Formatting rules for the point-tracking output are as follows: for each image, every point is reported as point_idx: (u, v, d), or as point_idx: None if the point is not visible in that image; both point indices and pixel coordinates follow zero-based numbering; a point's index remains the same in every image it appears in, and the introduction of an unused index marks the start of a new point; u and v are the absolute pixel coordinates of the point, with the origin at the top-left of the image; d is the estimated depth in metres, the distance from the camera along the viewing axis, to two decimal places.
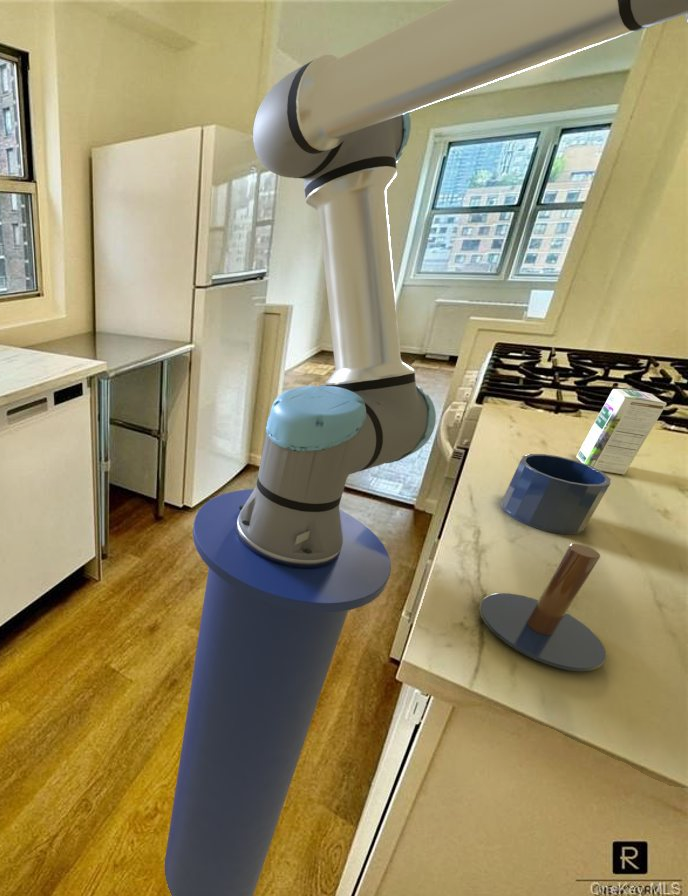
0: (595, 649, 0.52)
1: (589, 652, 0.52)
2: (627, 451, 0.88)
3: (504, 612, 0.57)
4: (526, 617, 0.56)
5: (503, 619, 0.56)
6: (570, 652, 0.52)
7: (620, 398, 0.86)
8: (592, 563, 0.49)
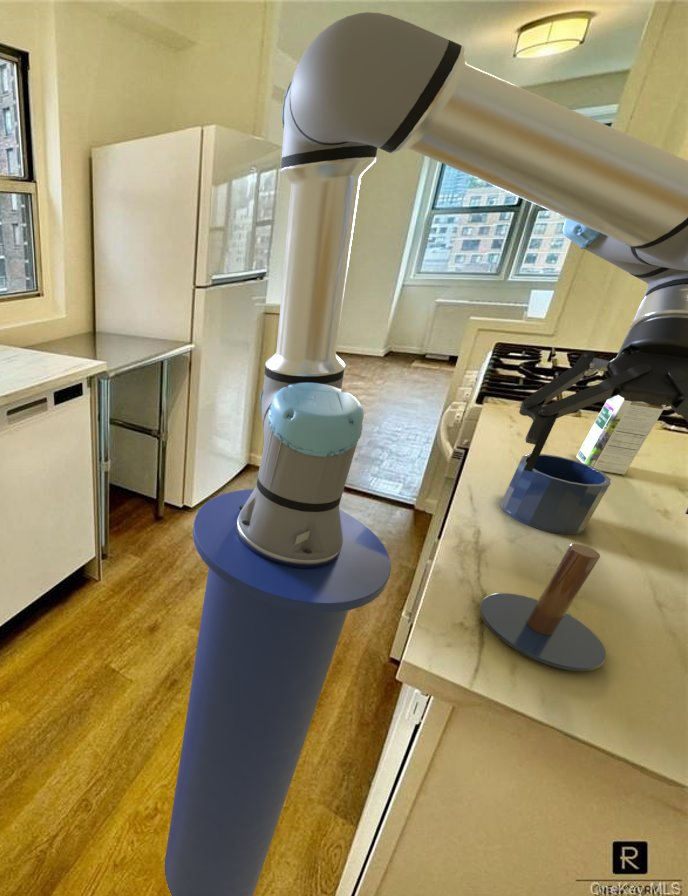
0: (595, 649, 0.52)
1: (589, 652, 0.52)
2: (627, 451, 0.88)
3: (504, 612, 0.57)
4: (526, 617, 0.56)
5: (503, 619, 0.56)
6: (570, 652, 0.52)
7: (620, 398, 0.86)
8: (592, 563, 0.49)
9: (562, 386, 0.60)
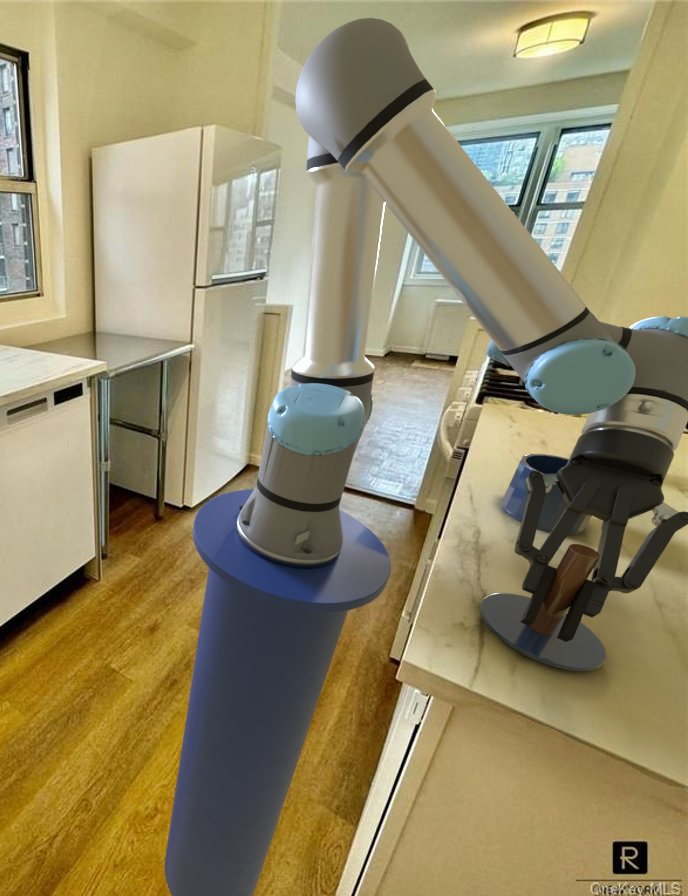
0: (595, 649, 0.52)
1: (589, 652, 0.52)
2: None
3: (504, 612, 0.57)
4: None
5: (503, 619, 0.56)
6: (570, 652, 0.52)
7: None
8: (592, 563, 0.49)
9: (539, 515, 0.55)
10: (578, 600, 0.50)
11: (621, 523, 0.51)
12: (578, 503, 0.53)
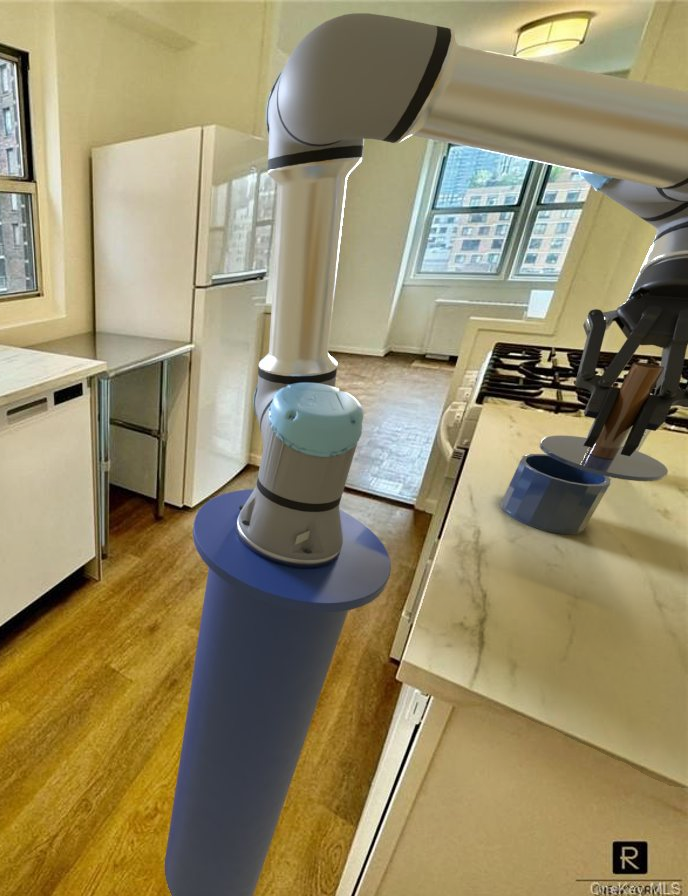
0: (657, 467, 0.55)
1: (651, 468, 0.55)
2: None
3: (564, 446, 0.60)
4: (586, 449, 0.59)
5: (564, 450, 0.59)
6: (633, 468, 0.55)
7: None
8: (656, 375, 0.52)
9: (600, 347, 0.58)
10: (642, 413, 0.53)
11: (683, 341, 0.53)
12: (639, 330, 0.56)
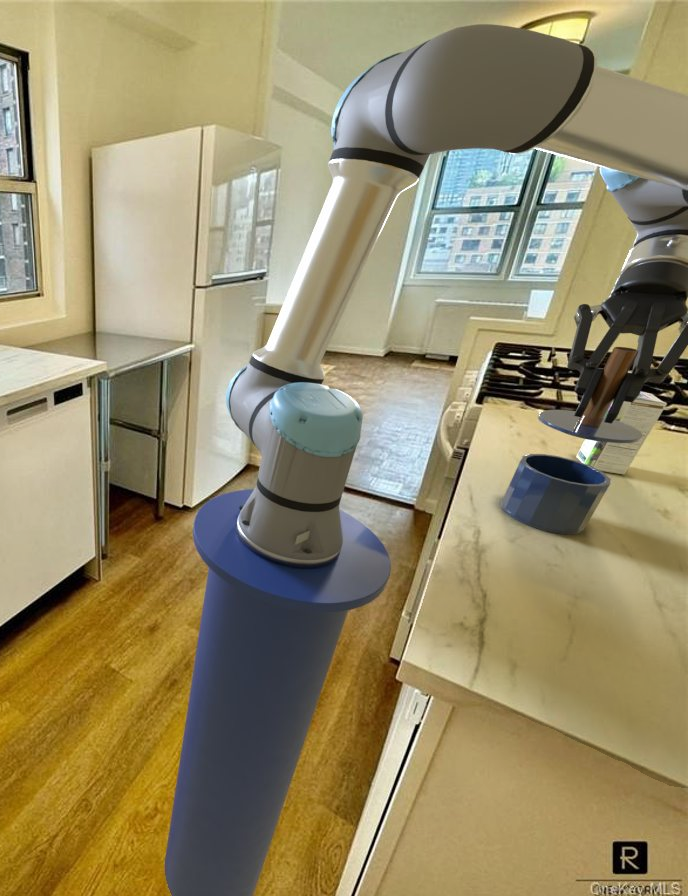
0: (633, 432, 0.67)
1: (629, 433, 0.67)
2: (627, 451, 0.88)
3: (558, 417, 0.72)
4: (576, 419, 0.71)
5: (558, 420, 0.71)
6: (614, 433, 0.67)
7: None
8: (632, 356, 0.64)
9: None
10: (621, 388, 0.65)
11: (654, 330, 0.66)
12: (619, 320, 0.68)
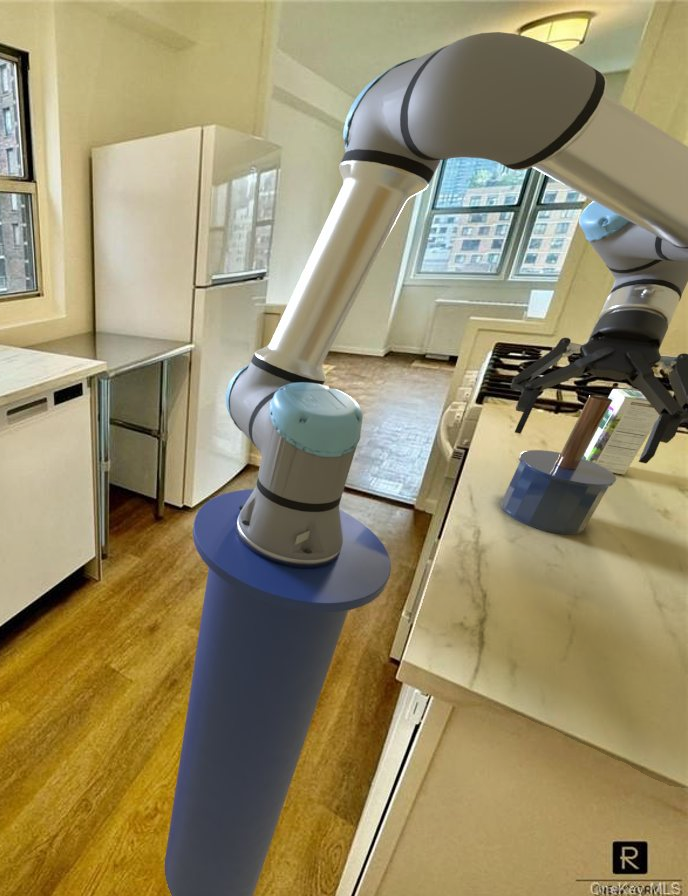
0: (608, 476, 0.71)
1: (603, 477, 0.70)
2: (627, 451, 0.88)
3: (538, 459, 0.75)
4: (555, 461, 0.75)
5: (538, 462, 0.74)
6: (589, 477, 0.70)
7: (620, 398, 0.86)
8: (606, 405, 0.68)
9: (545, 365, 0.75)
10: (657, 428, 0.65)
11: (650, 373, 0.68)
12: (585, 359, 0.72)
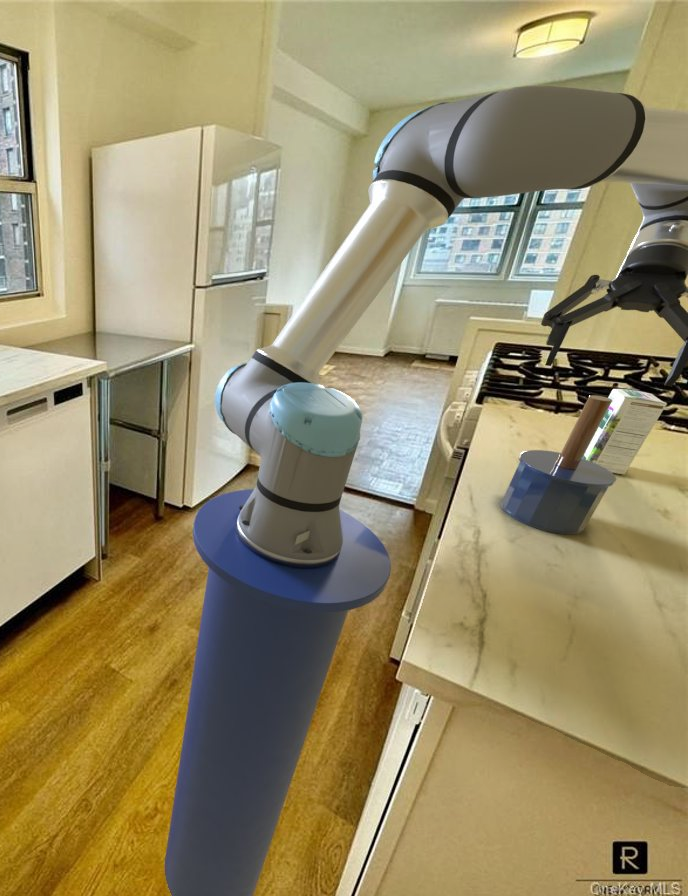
0: (608, 476, 0.71)
1: (603, 477, 0.70)
2: (627, 451, 0.88)
3: (538, 459, 0.75)
4: (555, 461, 0.75)
5: (538, 462, 0.74)
6: (589, 477, 0.70)
7: (620, 398, 0.86)
8: (606, 405, 0.68)
9: (574, 301, 0.80)
10: (682, 352, 0.70)
11: (676, 303, 0.72)
12: (613, 293, 0.77)
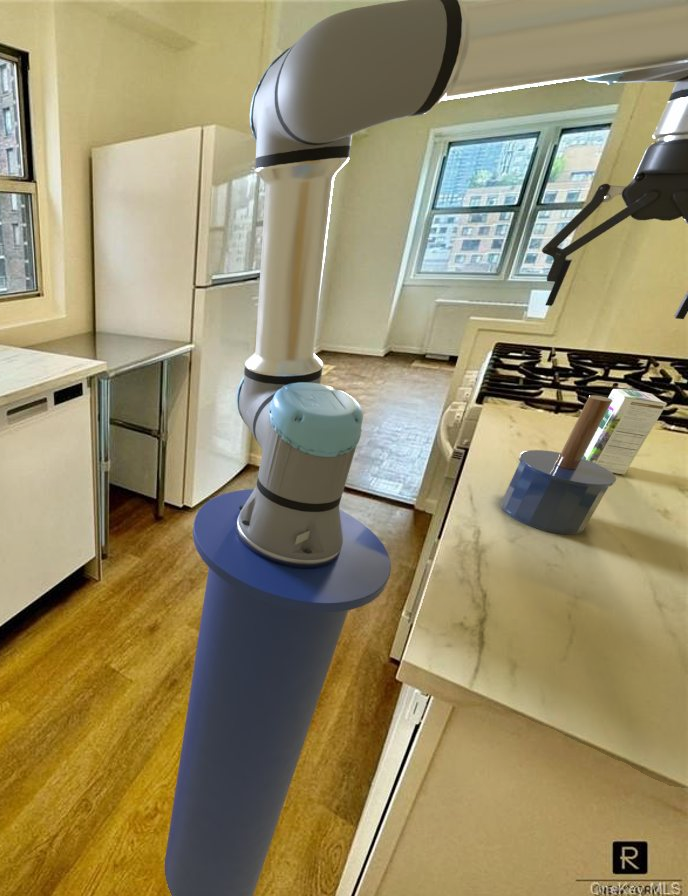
0: (608, 476, 0.71)
1: (603, 477, 0.70)
2: (627, 451, 0.88)
3: (538, 459, 0.75)
4: (555, 461, 0.75)
5: (538, 462, 0.74)
6: (589, 477, 0.70)
7: (620, 398, 0.86)
8: (606, 405, 0.68)
9: (578, 225, 0.69)
10: None
11: None
12: (623, 214, 0.66)
